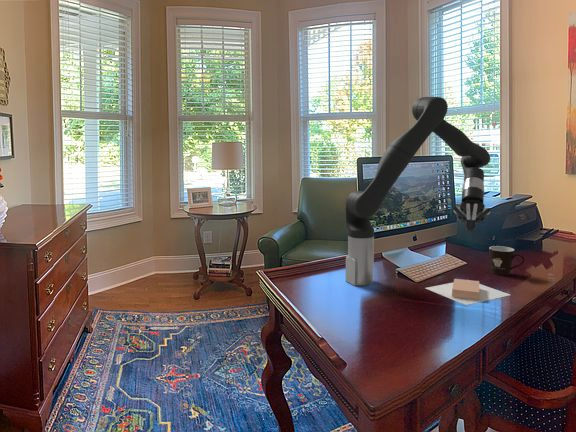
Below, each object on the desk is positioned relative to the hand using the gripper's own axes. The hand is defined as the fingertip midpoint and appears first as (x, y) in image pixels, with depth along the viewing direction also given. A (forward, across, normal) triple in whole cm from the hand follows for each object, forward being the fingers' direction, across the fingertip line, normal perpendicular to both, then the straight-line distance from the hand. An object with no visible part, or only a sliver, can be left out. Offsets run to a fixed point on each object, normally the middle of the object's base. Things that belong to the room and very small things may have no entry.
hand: (470, 230), depth 153 cm
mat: (+22, 0, +5) cm, 22 cm away
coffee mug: (+4, +12, +24) cm, 27 cm away
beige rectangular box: (+17, 0, +7) cm, 19 cm away
